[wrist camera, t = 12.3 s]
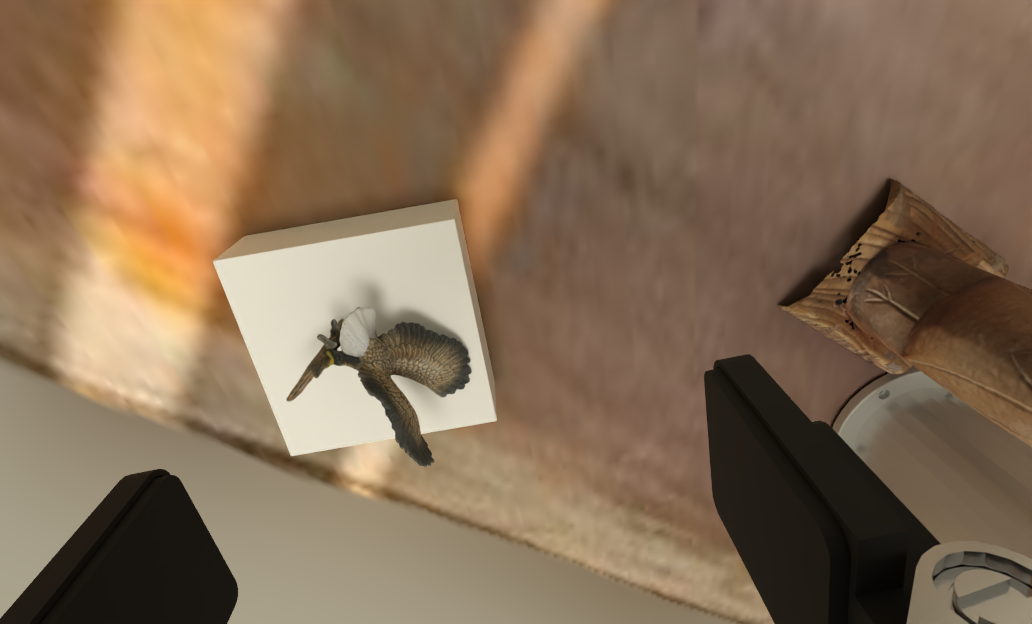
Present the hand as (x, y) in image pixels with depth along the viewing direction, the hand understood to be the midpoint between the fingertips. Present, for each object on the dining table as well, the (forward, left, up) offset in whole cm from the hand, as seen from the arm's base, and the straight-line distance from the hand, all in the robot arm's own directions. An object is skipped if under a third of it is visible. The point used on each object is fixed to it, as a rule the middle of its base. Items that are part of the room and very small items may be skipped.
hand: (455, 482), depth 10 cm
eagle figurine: (+7, +9, -24) cm, 27 cm away
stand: (+8, +8, -29) cm, 31 cm away
